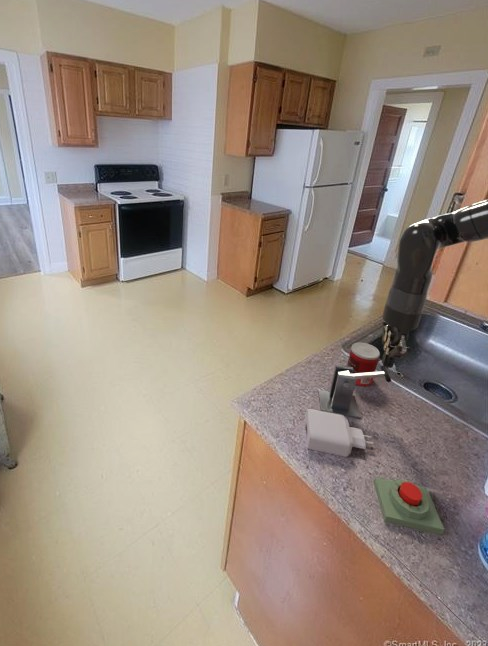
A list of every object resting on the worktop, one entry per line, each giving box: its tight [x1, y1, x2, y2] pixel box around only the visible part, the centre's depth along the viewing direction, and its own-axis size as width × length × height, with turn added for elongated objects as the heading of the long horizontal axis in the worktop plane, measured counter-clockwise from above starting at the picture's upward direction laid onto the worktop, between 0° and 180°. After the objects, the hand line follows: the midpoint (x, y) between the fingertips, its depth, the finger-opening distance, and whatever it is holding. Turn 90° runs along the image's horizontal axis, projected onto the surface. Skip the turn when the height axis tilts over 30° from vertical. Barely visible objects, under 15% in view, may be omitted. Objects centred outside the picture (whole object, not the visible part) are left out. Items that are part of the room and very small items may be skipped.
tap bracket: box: [317, 364, 362, 420], centre depth 87 cm, size 10×8×12 cm
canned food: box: [346, 342, 381, 387], centre depth 97 cm, size 8×8×11 cm
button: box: [399, 481, 422, 506], centre depth 63 cm, size 4×4×2 cm
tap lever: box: [338, 365, 392, 383], centre depth 84 cm, size 12×5×2 cm, turn 78°
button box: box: [373, 476, 445, 536], centre depth 64 cm, size 10×8×4 cm
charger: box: [304, 408, 374, 458], centre depth 78 cm, size 5×9×15 cm
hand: (386, 365), depth 82 cm, fingers closed
